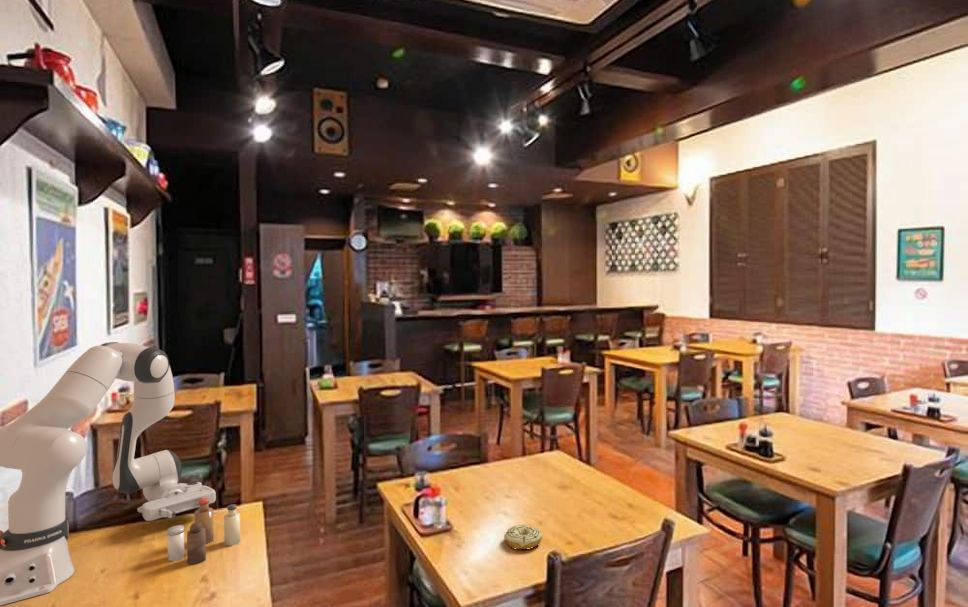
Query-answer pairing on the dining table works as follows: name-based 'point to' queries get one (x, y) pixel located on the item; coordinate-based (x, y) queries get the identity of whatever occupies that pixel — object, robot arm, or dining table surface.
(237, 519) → the vinegar bottle
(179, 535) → the salt shaker
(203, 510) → the soy bottle
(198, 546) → the pepper mill
